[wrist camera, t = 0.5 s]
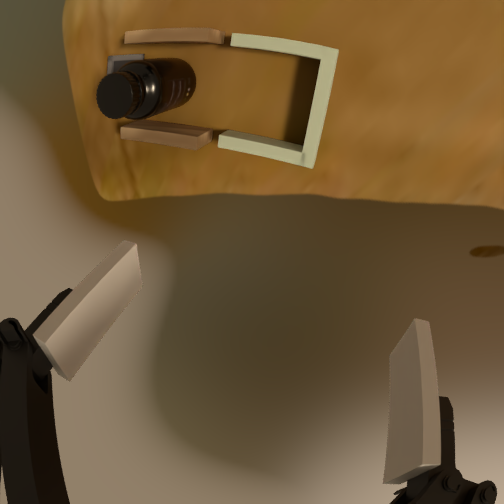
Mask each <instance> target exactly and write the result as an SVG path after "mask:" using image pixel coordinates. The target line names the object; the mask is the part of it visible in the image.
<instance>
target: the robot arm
mask: <svg viewBox="0 0 504 504" xmlns="http://www.w3.org/2000/svg"><path fill="white" fill-rule="evenodd" d="M142 287H143V284H142V278H141V272H140V265H139V259H138V252H137V244H136V243H133V242H129V241H126V240H123V242H121V243H120V244H119V245H118V246H117V247H116V248H115V249H114V250H113V251H112V252H111V253H110V254H109V255H108V256H107V257H105V258H104V259H103V260H102V262H100V263H99V264H98V265H97V266H96V267H95V268H94V269H93V270H92V271H91V272H90V273H89V274H88V275H87V276H86V277H85V278H84V280H82V281H81V283H80V284H78V285H77V287H76V288H75V289H74V290H72V289H70V288H68V289H66V290H64V291H63V292H61V293H59V294H58V295H57V296H56V297H55V298H54V299H53V301H52V303H50V304H49V305H48V306H47V307H46V309H44V310H43V311H42V312H41V313H40V314H39V316H38V317H37V318H36V319H35V320H34V321H33V322H32V323H31V324H30V326H29V327H28V328H27V329H26V330H25V331H24V330H23V328H22V326H21V325H20V323H19V322H18V320H17V319H15V318H7V319H4V320H3V321H2V322H1V323H0V481H1V467H2V468H3V477H4V484H5V489H6V496H7V501H8V504H70V502H69V498H68V494H67V490H66V486H65V482H64V477H63V472H62V467H61V461H60V456H59V450H58V443H57V436H56V428H55V419H54V409H53V394H52V375H51V371H50V370H51V369H52V367H54V369H55V370H56V372H57V373H58V374H59V375H61V376H62V377H63V378H65V379H66V380H68V381H71V380H72V378H73V377H74V375H75V374H76V373H77V371H78V370H79V369H80V367H81V366H82V364H83V363H84V362H85V360H86V359H87V357H88V356H89V355H90V353H91V352H92V351H93V349H94V348H95V347H96V346H97V344H98V343H99V342H100V340H101V339H102V338H103V336H104V335H105V334H106V332H107V331H108V330H109V328H110V327H111V326H112V324H113V323H114V322H115V320H116V319H117V318H118V317H119V316H120V314H121V313H122V312H123V310H124V309H125V308H126V307H127V305H128V304H129V303H130V301H131V300H132V299H133V298H134V296H135V295H136V294H137V293H138V292H139V290H140V289H141V288H142ZM453 419H454V418H453V408H452V406H451V403H450V401H449V398H448V397H440V396H439V393H438V383H437V373H436V365H435V358H434V350H433V343H432V337H431V331H430V325H429V322H428V321H424V320H420V319H416V318H415V319H414V320H413V322H412V323H411V325H410V326H409V328H408V330H407V331H406V333H405V334H404V336H403V337H402V338H401V340H400V341H399V343H398V344H397V346H396V347H395V349H394V350H393V351H392V353H391V354H390V402H389V424H388V439H387V451H386V461H385V470H384V478H383V484H401V483H404V482H406V481H407V487H405V488H403V489H400V490H398V491H396V492H395V493H394V495H397V494H399V493H400V494H399V495H398V496H397V497H396V498H395V499H394V500H393V501H392V502H391V503H390V504H494V503H495V500H496V496H497V488H496V486H495V484H494V483H493V482H492V481H488V480H487V481H484V482H481V483H480V484H477V483H474V482H471V481H468V480H465V479H464V478H463V477H462V474H461V473H460V471H459V470H457V469H456V467H455V436H454V422H453Z"/></svg>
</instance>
